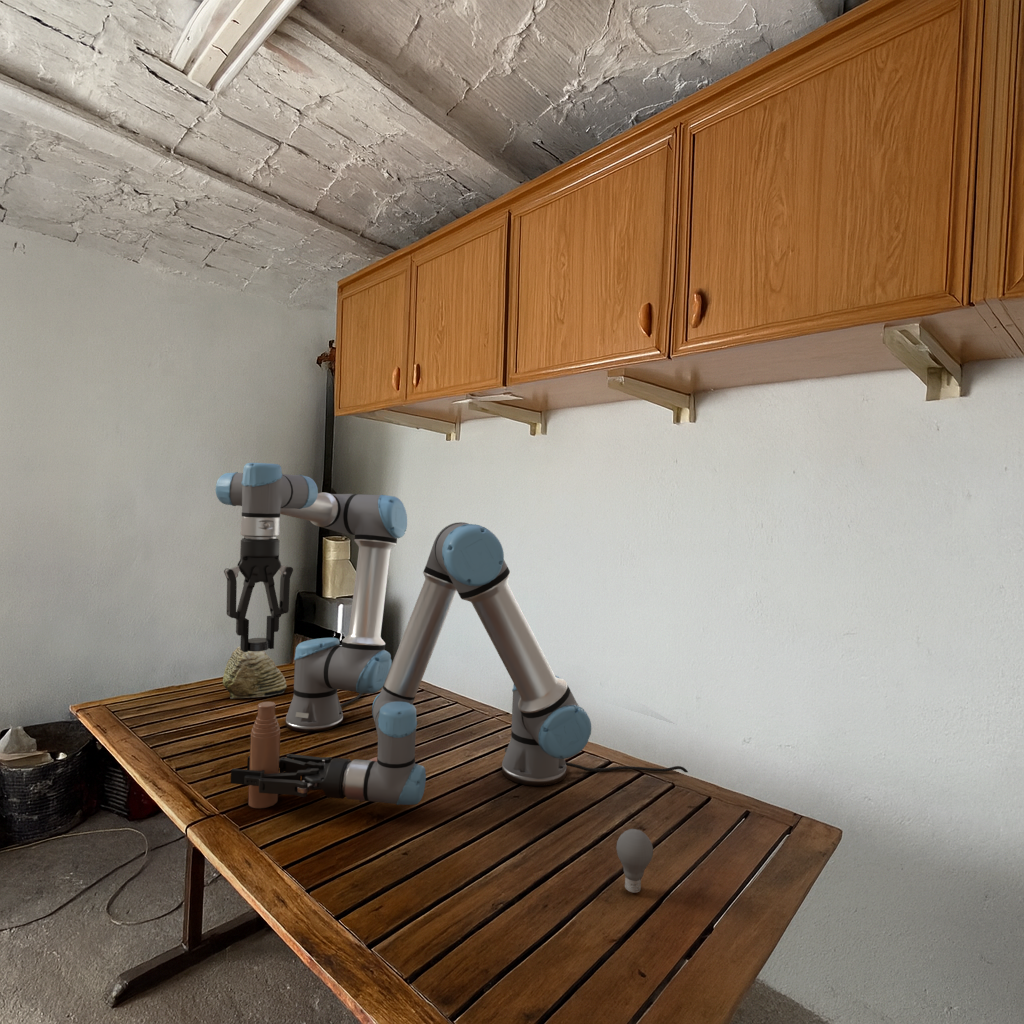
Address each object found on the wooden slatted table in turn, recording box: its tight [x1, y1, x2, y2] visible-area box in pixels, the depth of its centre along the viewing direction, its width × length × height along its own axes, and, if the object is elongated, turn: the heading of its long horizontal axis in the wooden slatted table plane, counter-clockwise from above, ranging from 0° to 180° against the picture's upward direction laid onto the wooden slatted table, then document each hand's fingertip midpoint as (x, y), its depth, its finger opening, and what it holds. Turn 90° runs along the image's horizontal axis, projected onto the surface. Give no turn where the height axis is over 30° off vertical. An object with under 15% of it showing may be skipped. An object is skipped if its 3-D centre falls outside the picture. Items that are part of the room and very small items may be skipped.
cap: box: [248, 637, 270, 652], centre depth 132 cm, size 5×5×2 cm
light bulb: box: [615, 828, 654, 894], centre depth 106 cm, size 6×6×10 cm
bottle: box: [247, 701, 281, 809], centre depth 130 cm, size 6×6×20 cm
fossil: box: [222, 646, 288, 699], centre depth 198 cm, size 9×18×15 cm, turn 132°
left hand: (257, 648), depth 132 cm, fingers closed on cap, 4 cm apart
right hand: (240, 769), depth 131 cm, fingers closed on bottle, 6 cm apart
